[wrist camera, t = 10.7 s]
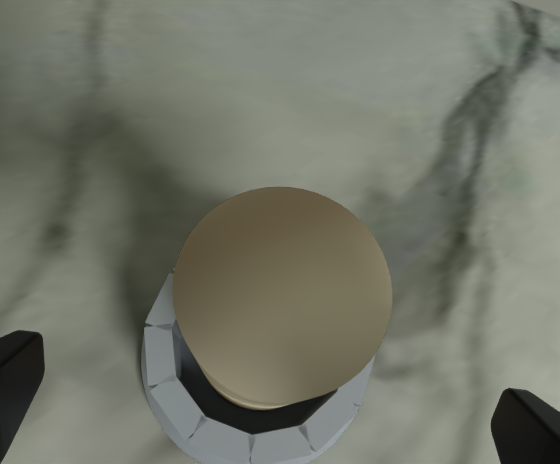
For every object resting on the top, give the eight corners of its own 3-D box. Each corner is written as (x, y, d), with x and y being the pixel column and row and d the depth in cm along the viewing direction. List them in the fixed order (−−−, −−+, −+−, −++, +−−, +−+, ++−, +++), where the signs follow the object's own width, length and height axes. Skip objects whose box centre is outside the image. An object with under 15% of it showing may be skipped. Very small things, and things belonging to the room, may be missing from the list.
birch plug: (331, 387, 20) (428, 355, 10) (219, 429, 19) (208, 438, 9) (292, 281, 21) (343, 165, 12) (188, 313, 20) (149, 216, 11)
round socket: (409, 365, 21) (442, 355, 18) (238, 534, 18) (239, 560, 14) (271, 209, 23) (277, 175, 20) (98, 334, 20) (72, 317, 17)
